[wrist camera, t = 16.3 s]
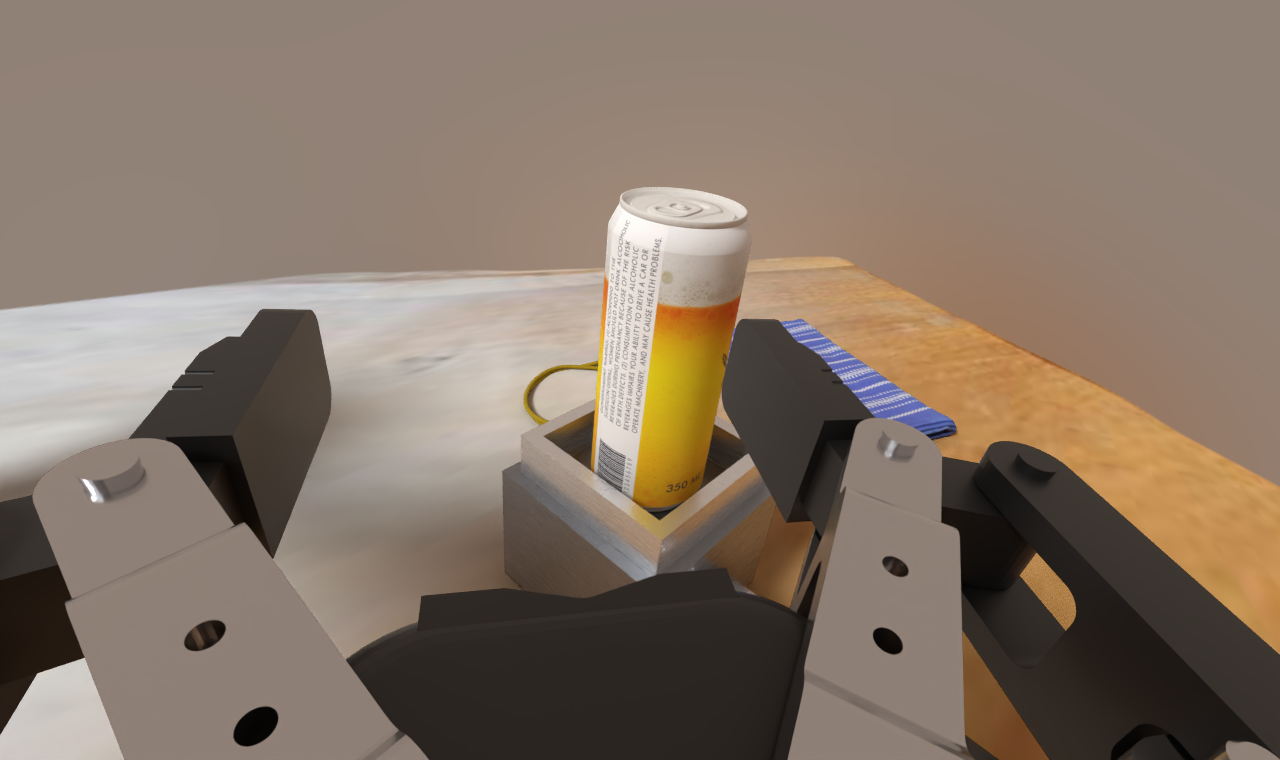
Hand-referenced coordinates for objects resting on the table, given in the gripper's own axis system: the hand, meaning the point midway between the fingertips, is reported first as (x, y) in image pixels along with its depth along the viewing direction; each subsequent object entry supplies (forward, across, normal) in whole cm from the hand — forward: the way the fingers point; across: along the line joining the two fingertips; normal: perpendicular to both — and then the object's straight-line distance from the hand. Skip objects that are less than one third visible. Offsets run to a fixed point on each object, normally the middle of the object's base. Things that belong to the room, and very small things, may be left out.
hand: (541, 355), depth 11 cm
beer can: (+12, -7, +16) cm, 21 cm away
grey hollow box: (+11, -8, +23) cm, 27 cm away
